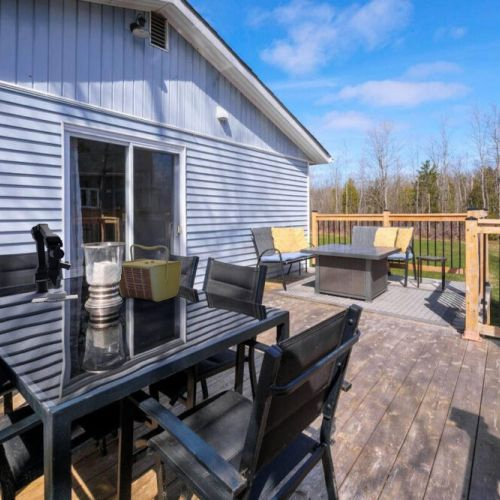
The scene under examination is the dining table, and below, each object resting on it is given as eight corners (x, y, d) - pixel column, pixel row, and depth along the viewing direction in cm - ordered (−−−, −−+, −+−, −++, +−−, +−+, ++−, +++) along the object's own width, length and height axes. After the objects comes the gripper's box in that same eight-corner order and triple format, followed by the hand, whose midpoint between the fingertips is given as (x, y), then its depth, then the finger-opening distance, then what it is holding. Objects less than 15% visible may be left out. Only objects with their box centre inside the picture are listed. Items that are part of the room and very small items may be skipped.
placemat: (33, 299, 188) (33, 298, 188) (77, 295, 198) (77, 294, 198) (31, 303, 181) (31, 302, 181) (77, 298, 191) (77, 297, 191)
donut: (65, 289, 197) (68, 292, 189) (65, 294, 197) (68, 298, 189) (45, 291, 191) (47, 294, 183) (45, 297, 191) (47, 301, 183)
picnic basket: (114, 298, 190) (111, 245, 187) (147, 290, 213) (146, 242, 210) (152, 305, 177) (151, 247, 174) (184, 295, 199) (183, 244, 196)
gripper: (69, 258, 183) (71, 287, 185) (69, 255, 200) (71, 281, 201) (45, 260, 178) (47, 289, 180) (47, 256, 195) (49, 283, 196)
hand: (55, 285), depth 189 cm, fingers closed
